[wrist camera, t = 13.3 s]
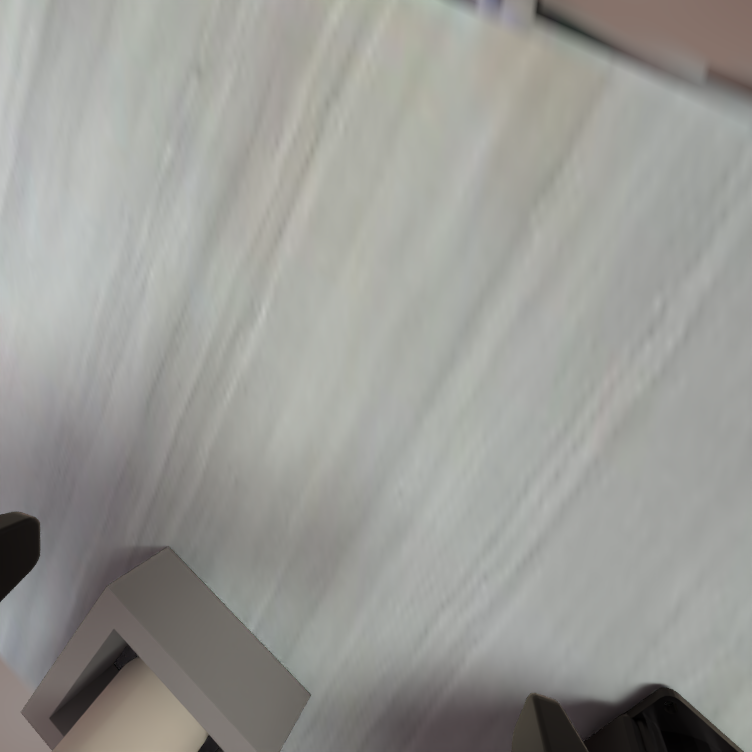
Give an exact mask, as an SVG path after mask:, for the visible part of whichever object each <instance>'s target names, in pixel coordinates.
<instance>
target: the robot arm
mask: <svg viewBox="0 0 752 752" xmlns="http://www.w3.org/2000/svg"><path fill="white" fill-rule="evenodd" d="M39 557H40V522H39V520H38V519H37V518H36V517H33V516H30V515H27V514H25V513H22V512H10V513H6V514H1V515H0V602H1V601H2V600H3V599H4V598H5V597H6V596H7V595H8V594H9V593H10V591H11V590H12V589H13V588H14V587H15V586H16V585H17V584H18V583H19V582H20V581H21V580H22V579H23V578H24V577H25V576H26V575H27V574H28V573H29V572H30V571H31V570H32V569H33V568H34V566H35V565H36V563H37V562H38V560H39ZM668 701H669V702H673V703H674V704H673V705H670V706H669V705H665V704H664V703H665V702H668ZM512 752H744V751H743V750H741V749H740V748H739V747H738V746H737V745H736V744H735V743H734V742H732V741H731V740H730V739H729V738H728V737H727V736H726V735H725V734H723V733H722V732H721V731H720V730H719V729H718V728H717V727H716V726H714V725H713V724H712V723H711V722H710V721H709V720H708V719H707V718H705V717H704V716H703V715H702V714H701V713H700V712H699V711H698V710H696V709H695V708H694V707H693V706H692V705H691V704H690V703H689V702H687V701H686V700H685V699H684V698H683V697H682V696H681V695H680V694H678V693H677V692H676V691H674V690H673V689H669V688H661V689H658V690H657V691H655V692H654V693H652V694H651V695H650V696H648V697H647V698H646V699H644V700H643V701H641V702H640V703H639V704H637V705H636V706H635V707H633V708H632V709H630V710H629V711H628V712H626V713H625V714H624V715H620V716H619V717H618V718H616V719H615V720H613V721H612V722H611V723H609V724H608V725H607V726H605V727H604V728H602V729H601V730H600V731H598V732H597V733H596V734H594V735H593V736H591V737H590V738H589V739H587V740H586V741H585V742H583V741H582V740H581V738H580V736H579V735H578V733H577V731H576V730H575V728H574V726H573V725H572V723H571V721H570V720H569V718H568V717H567V715H566V713H565V712H564V710H563V708H562V707H561V705H560V704H559V703H558V702H557V701H556V700H554V699H551V698H548V697H545V696H543V695H540V694H537V693H531V694H530V695H529V696H528V697H527V699H526V702H525V704H524V707H523V709H522V711H521V714H520V716H519V719H518V721H517V723H516V726H515V729H514V732H513V738H512Z"/></svg>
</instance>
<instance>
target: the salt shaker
mask: <svg viewBox="0 0 752 752" xmlns="http://www.w3.org/2000/svg"><path fill="white" fill-rule="evenodd" d="M208 735H209V734H208V733H207V732H206V731H205V729H204V728H203V727H202V726H201V725H200V724H199V723H198V722H197V721H196V719H195V718H194V717H193V716H192V715H191V714H190V713H189V712H188V710H187V709H186V708H185V707H184V706H183V705H182V704H181V703H180V702H179V700H178V699H177V698H176V697H175V696H174V695H173V694H172V693H171V691H170V690H169V689H168V688H167V687H166V686H165V685H164V684H163V683H162V681H161V680H160V679H159V678H158V677H157V676H156V675H155V674H154V672H153V671H152V670H151V669H150V668H149V667H148V666H147V665H146V664H145V662H144V661H143V660H142V659H141V658H140V657H137V658H134V659H133V660H131V661H130V662H128V663H127V664H125V665H124V667H123V668H122V669H121V670H120V671H119V673H118V674H117V675H116V676H115V677H114V679H113V680H112V681H111V682H110V683H109V684H108V686H107V687H106V688H105V689H104V690H103V692H102V693H101V694H100V695H99V696H98V697H97V699H96V700H95V701H94V702H93V703H92V705H91V706H90V707H89V708H88V709H87V711H86V712H85V713H84V714H83V715H82V716H81V718H80V719H79V720H78V721H77V722H76V724H75V725H74V726H73V727H72V728H71V729H70V731H69V732H68V733H67V734H66V735H65V737H64V738H63V739H62V740H61V741H60V743H59V744H58V745H57V746H56V747H55V748H54V750H53V751H52V752H198V750H199V749H200V748H201V746H202V745H203V744H204V742H205V740H206V739H207V737H208Z"/></svg>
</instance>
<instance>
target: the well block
mask: <svg viewBox="0 0 752 752" xmlns="http://www.w3.org/2000/svg"><path fill="white" fill-rule="evenodd" d="M127 645H129V646H130V647H131V648H132V649H133V650H134V651H135V652H136V654H137V655H138V656H139V657H140V658H141V659H142V660H143V661H144V662H145V664H146V665H147V666H148V667H149V668H150V669H151V670H152V671H153V672H154V674H155V675H156V676H157V677H158V678H159V679H160V680H161V681H162V683H163V684H164V685H165V686H166V687H167V688H168V689H169V690H170V691H171V693H172V694H173V695H174V696H175V697H176V698H177V699H178V700H179V702H180V703H181V704H182V705H183V706H184V707H185V708H186V709H187V710H188V712H189V713H190V714H191V715H192V716H193V717H194V718H195V719H196V721H197V722H198V723H199V724H200V725H201V726H202V727H203V728H204V729H205V731H206V732H207V733H208V734H209V735H210V736H211V737H212V738H213V739H214V741H215V742H216V743H217V744H218V745H219V746H220V748H219V749H218V750H217V751H216V752H280V750H281V748H282V746H283V745H284V743H285V741H286V739H287V737H288V736H289V734H290V732H291V730H292V728H293V727H294V725H295V723H296V721H297V719H298V718H299V716H300V714H301V712H302V710H303V709H304V707H305V705H306V703H307V701H308V700H309V698H310V696H311V695H310V694H309V693H308V692H307V691H306V690H305V688H304V687H303V686H302V685H301V684H300V683H299V682H298V681H297V680H296V679H295V678H294V677H293V676H292V675H291V674H290V673H289V672H288V671H287V670H286V669H285V668H284V667H283V665H282V664H281V663H280V662H279V661H278V660H277V659H276V658H275V657H274V656H273V655H272V654H271V653H270V652H269V651H268V650H267V649H266V648H265V647H264V646H263V645H262V644H261V643H260V641H259V640H258V639H257V638H256V637H255V636H254V635H253V634H252V633H251V632H250V631H249V630H248V629H247V628H246V627H245V626H244V625H243V624H242V623H241V622H240V621H239V620H238V619H237V617H236V616H235V615H234V614H233V613H232V612H231V611H230V610H229V609H228V608H227V607H226V606H225V605H224V604H223V603H222V602H221V601H220V600H219V599H218V598H217V597H216V596H215V595H214V593H213V592H212V591H211V590H210V589H209V588H208V587H207V586H206V585H205V584H204V583H203V582H202V581H201V580H200V579H199V578H198V577H197V576H196V575H195V574H194V573H193V572H192V571H191V569H190V568H189V567H188V566H187V565H186V564H185V563H184V562H183V561H182V560H181V559H180V558H179V557H178V556H177V555H176V554H175V553H174V552H173V551H172V550H171V549H170V548H169V546H168V547H167V548H165V549H164V550H162V551H161V552H159V553H158V554H156V555H154V556H153V557H151V558H150V559H148V560H147V561H145V562H144V563H142V564H140V565H139V566H137V567H136V568H134V569H133V570H131V571H130V572H128V573H127V574H125V575H123V576H122V577H120V578H119V579H117V580H116V581H114V582H113V583H111V584H110V585H108V586H107V587H106V588H105V590H104V591H103V593H102V594H101V595H100V597H99V598H98V600H97V601H96V603H95V604H94V606H93V607H92V609H91V610H90V612H89V613H88V614H87V616H86V617H85V619H84V620H83V622H82V623H81V625H80V626H79V628H78V629H77V631H76V632H75V633H74V635H73V636H72V638H71V639H70V641H69V642H68V644H67V645H66V647H65V648H64V650H63V651H62V652H61V654H60V655H59V657H58V658H57V660H56V661H55V663H54V664H53V666H52V667H51V669H50V670H49V671H48V673H47V674H46V676H45V677H44V679H43V680H42V682H41V683H40V685H39V686H38V688H37V689H36V691H35V692H34V693H33V695H32V696H31V698H30V699H29V701H28V702H27V704H26V705H25V707H24V708H23V710H22V711H21V713H22V715H23V716H24V717H25V718H26V719H27V720H28V722H29V723H30V724H31V725H32V727H33V728H34V729H35V730H36V732H37V733H38V734H39V735H40V736H41V738H42V739H43V740H44V741H45V743H47V745H48V746H49V747H50V749H51V750H52V751H53V750H54V748H55V747H56V746H57V745H58V744H59V743H60V741H61V740H62V739H63V738H64V737H65V735H66V734H67V733H68V732H69V731H70V729H71V728H72V727H73V726H74V725H75V724H76V722H77V721H78V720H79V719H80V718H81V716H82V715H83V714H84V713H85V712H86V711H87V709H88V708H89V707H90V706H91V705H92V703H93V702H94V701H95V700H96V699H97V697H98V696H99V695H100V694H101V693H102V692H103V690H104V689H105V688H106V687H107V686H108V684H109V683H110V682H111V681H112V680H113V679H114V677H115V676H116V675H117V674H118V673H119V670H118V669H117V668H116V667H115V666H114V665H113V663H114V662H115V661H116V659H117V658H118V657H119V655H120V654H121V653H122V651H123V650H124V649H125V647H126V646H127Z"/></svg>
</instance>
